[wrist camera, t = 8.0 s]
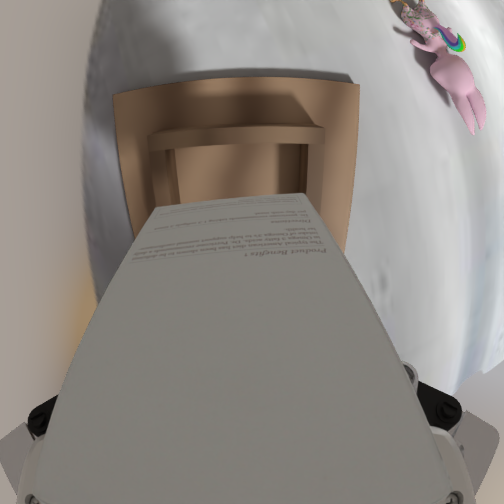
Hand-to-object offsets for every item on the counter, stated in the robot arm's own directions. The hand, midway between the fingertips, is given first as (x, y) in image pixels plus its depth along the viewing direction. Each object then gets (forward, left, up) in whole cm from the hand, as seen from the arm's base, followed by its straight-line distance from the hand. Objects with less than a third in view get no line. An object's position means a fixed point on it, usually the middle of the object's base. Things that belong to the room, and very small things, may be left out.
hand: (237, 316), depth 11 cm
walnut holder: (0, 0, -15) cm, 15 cm away
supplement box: (0, 0, -4) cm, 4 cm away
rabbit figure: (-19, -14, -15) cm, 28 cm away
